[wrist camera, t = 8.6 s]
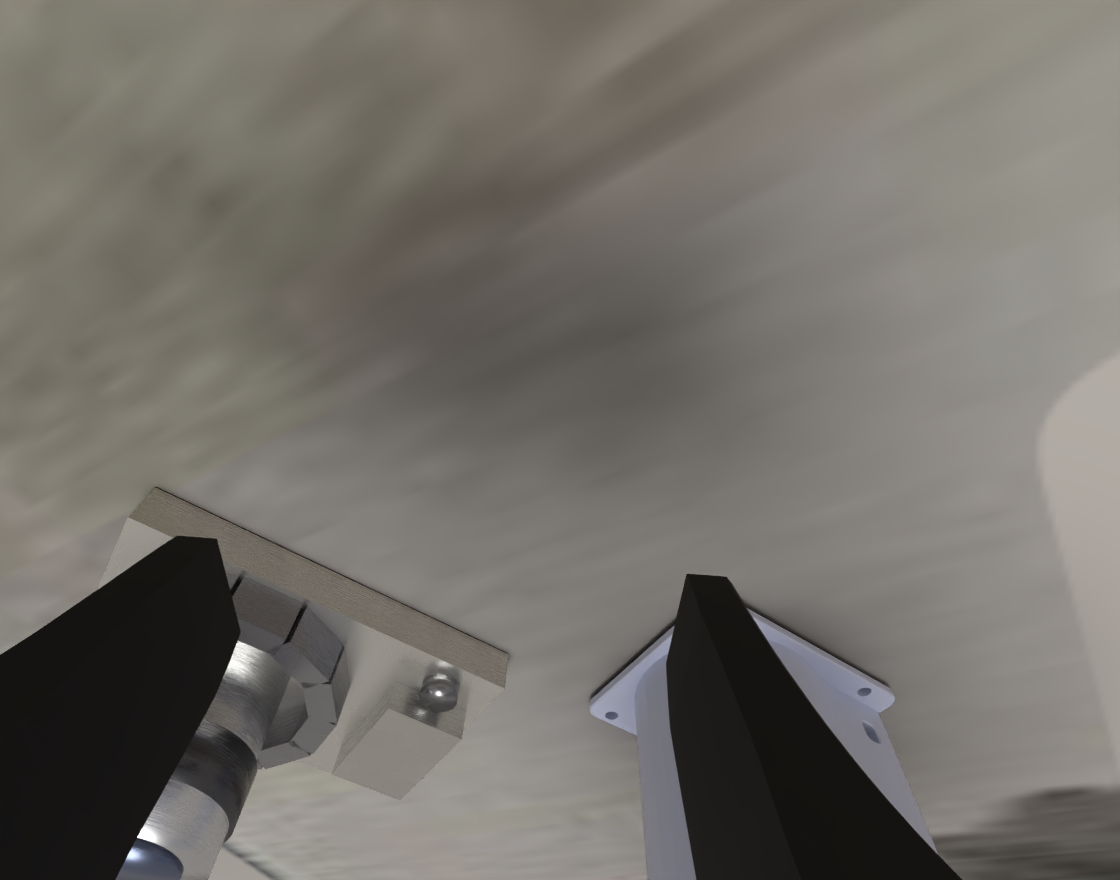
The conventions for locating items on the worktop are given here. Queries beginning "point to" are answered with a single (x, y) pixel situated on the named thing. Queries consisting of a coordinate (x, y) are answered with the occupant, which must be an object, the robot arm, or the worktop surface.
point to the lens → (211, 775)
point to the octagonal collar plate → (336, 655)
